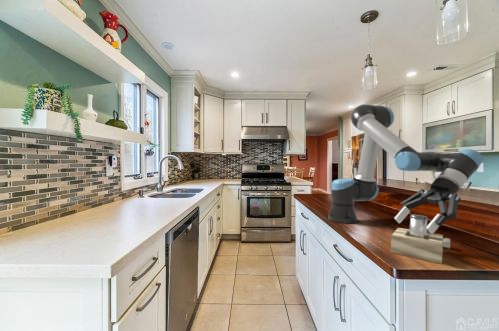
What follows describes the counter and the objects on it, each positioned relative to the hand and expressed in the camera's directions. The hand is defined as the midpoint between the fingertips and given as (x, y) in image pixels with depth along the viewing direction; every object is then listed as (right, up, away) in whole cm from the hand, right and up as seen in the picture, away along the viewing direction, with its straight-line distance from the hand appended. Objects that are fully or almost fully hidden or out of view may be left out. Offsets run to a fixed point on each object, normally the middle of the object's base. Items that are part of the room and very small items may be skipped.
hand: (411, 225), depth 82 cm
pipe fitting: (+15, -10, +8) cm, 20 cm away
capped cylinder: (+2, -9, 0) cm, 9 cm away
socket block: (+2, -10, 0) cm, 10 cm away
